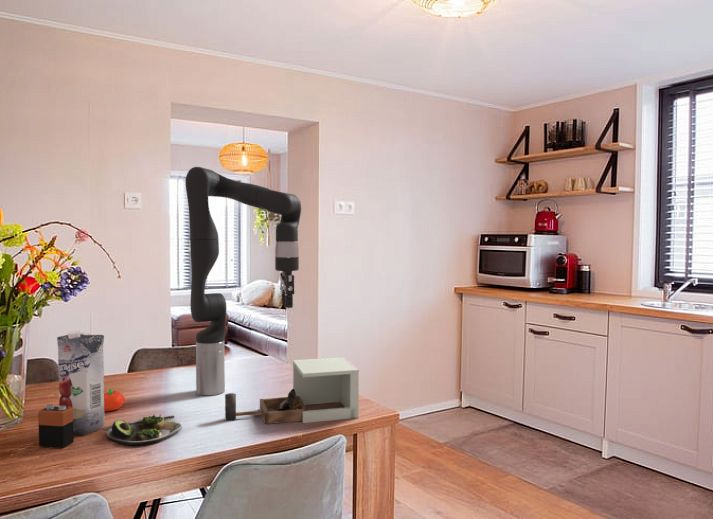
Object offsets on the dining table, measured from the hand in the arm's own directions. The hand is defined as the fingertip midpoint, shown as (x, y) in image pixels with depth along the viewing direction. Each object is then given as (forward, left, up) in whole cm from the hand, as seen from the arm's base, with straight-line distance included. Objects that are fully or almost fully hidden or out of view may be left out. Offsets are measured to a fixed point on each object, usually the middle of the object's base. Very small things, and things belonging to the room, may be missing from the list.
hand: (287, 306), depth 175 cm
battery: (-62, -24, -30) cm, 73 cm away
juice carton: (-58, -14, -30) cm, 67 cm away
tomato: (-53, +3, -30) cm, 61 cm away
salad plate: (-42, -22, -31) cm, 56 cm away
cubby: (+8, -16, -30) cm, 35 cm away
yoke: (-9, -16, -30) cm, 35 cm away
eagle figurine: (-2, -14, -30) cm, 34 cm away
